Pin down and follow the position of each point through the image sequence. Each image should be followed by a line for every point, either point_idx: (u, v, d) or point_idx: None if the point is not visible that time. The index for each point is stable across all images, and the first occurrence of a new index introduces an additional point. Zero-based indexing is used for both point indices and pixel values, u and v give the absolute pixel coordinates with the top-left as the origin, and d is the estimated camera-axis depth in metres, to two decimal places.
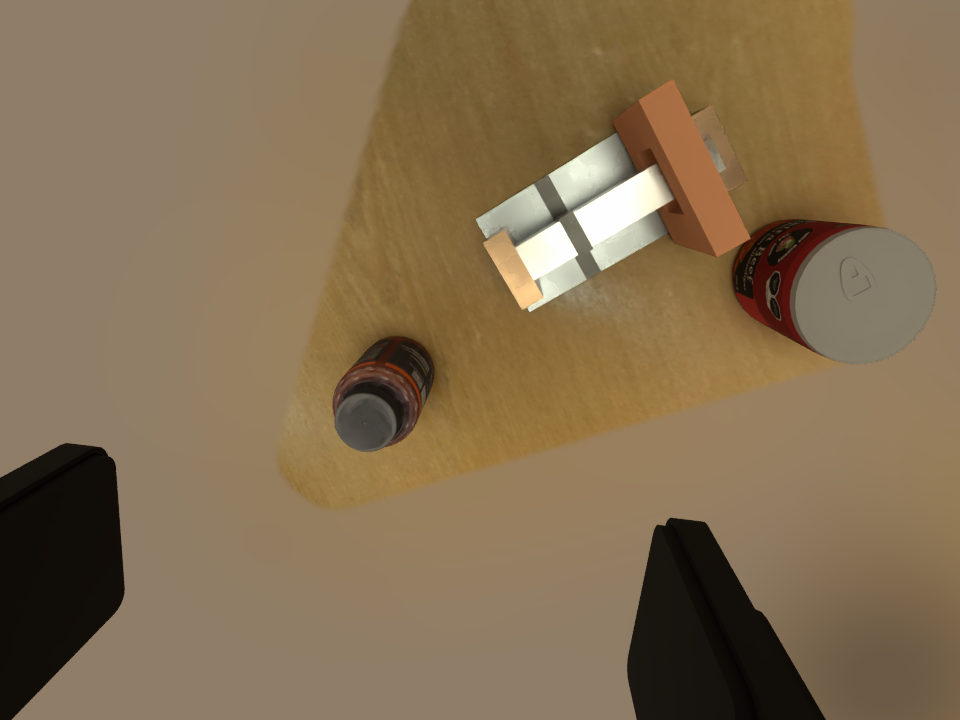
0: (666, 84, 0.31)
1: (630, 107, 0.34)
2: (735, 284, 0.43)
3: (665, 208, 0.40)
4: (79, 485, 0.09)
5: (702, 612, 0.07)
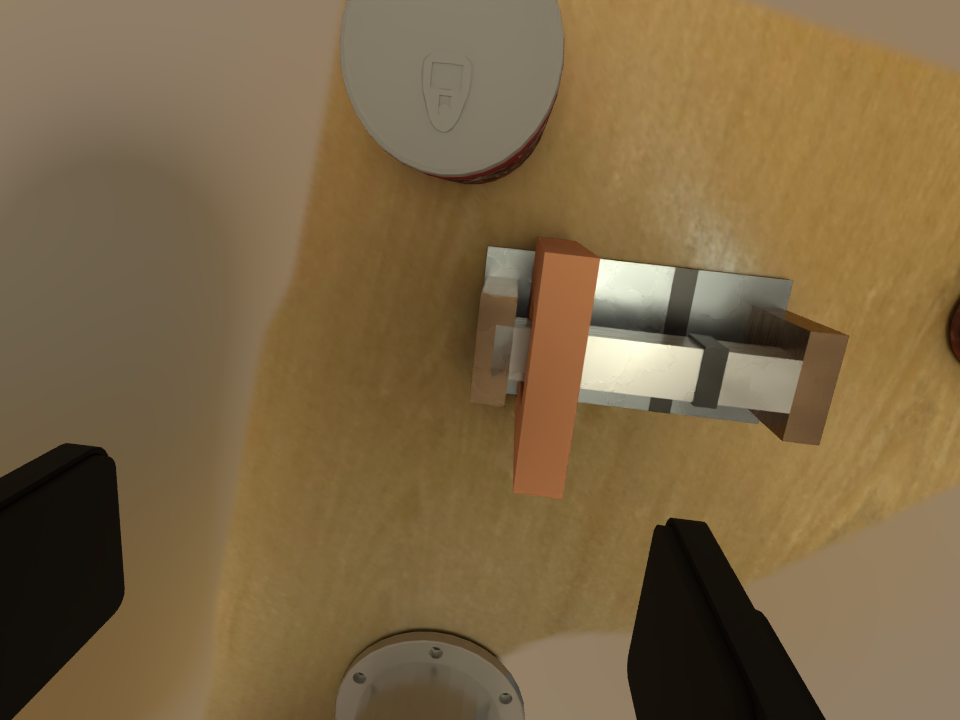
0: (523, 492, 0.24)
1: None
2: None
3: None
4: (79, 485, 0.09)
5: (702, 612, 0.07)
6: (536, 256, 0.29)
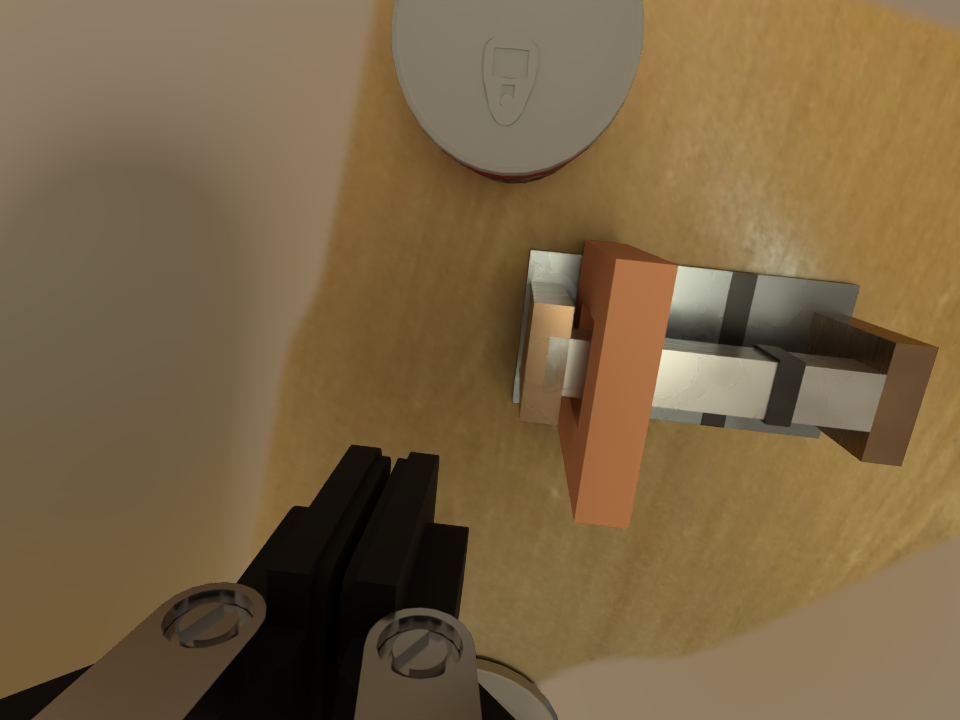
0: (585, 521, 0.22)
1: None
2: None
3: None
4: (380, 482, 0.10)
5: (377, 516, 0.09)
6: (587, 261, 0.27)
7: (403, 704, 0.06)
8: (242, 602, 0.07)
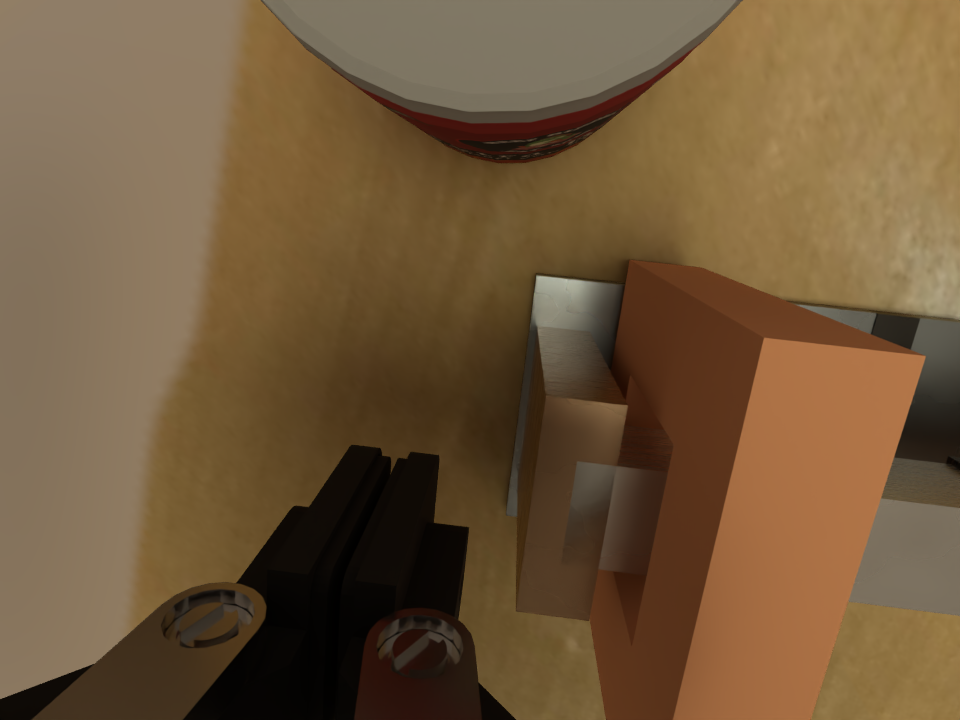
0: None
1: None
2: None
3: None
4: (380, 482, 0.10)
5: (377, 516, 0.09)
6: (639, 301, 0.15)
7: (403, 704, 0.06)
8: (242, 602, 0.07)
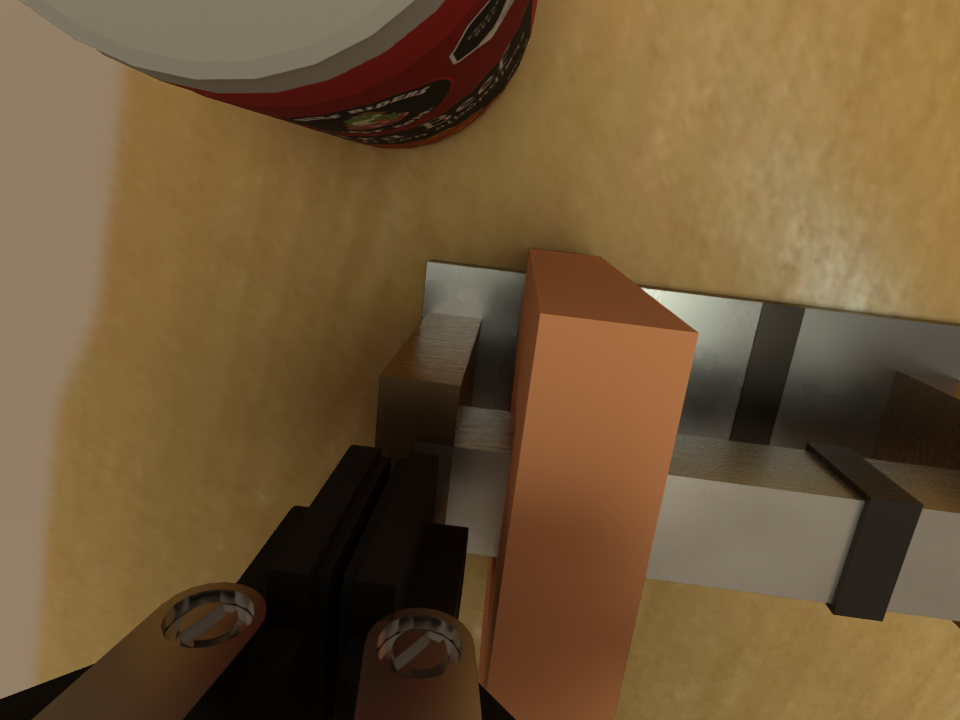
0: None
1: None
2: (521, 56, 0.16)
3: None
4: (380, 482, 0.10)
5: (377, 516, 0.09)
6: (526, 288, 0.15)
7: (403, 704, 0.06)
8: (242, 602, 0.07)
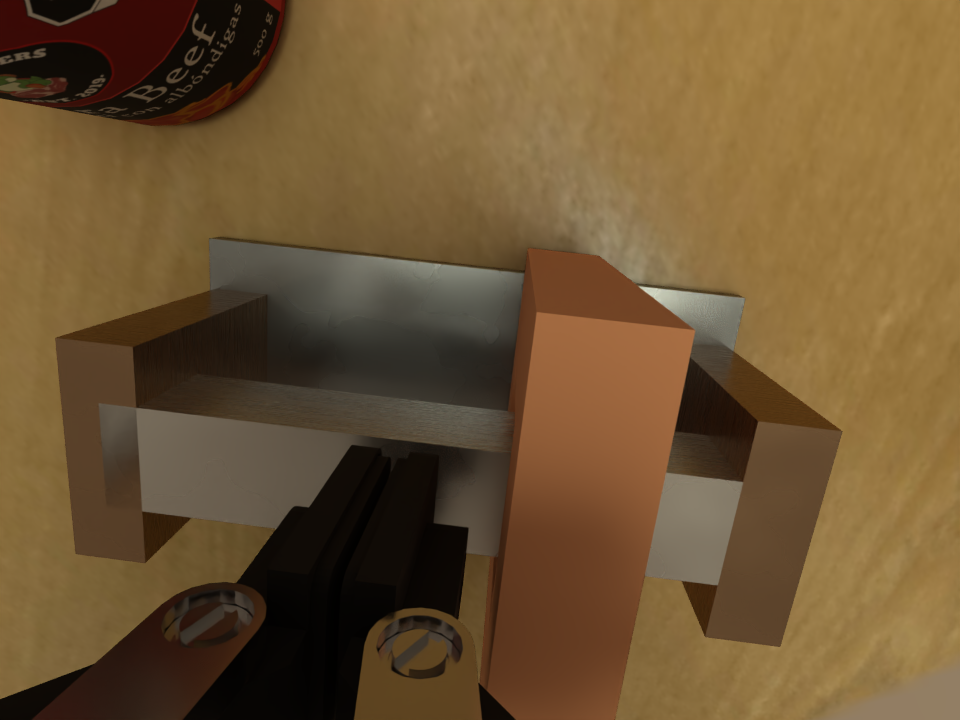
0: None
1: None
2: (270, 31, 0.16)
3: None
4: (380, 482, 0.10)
5: (377, 516, 0.09)
6: (524, 288, 0.15)
7: (403, 705, 0.06)
8: (242, 602, 0.07)
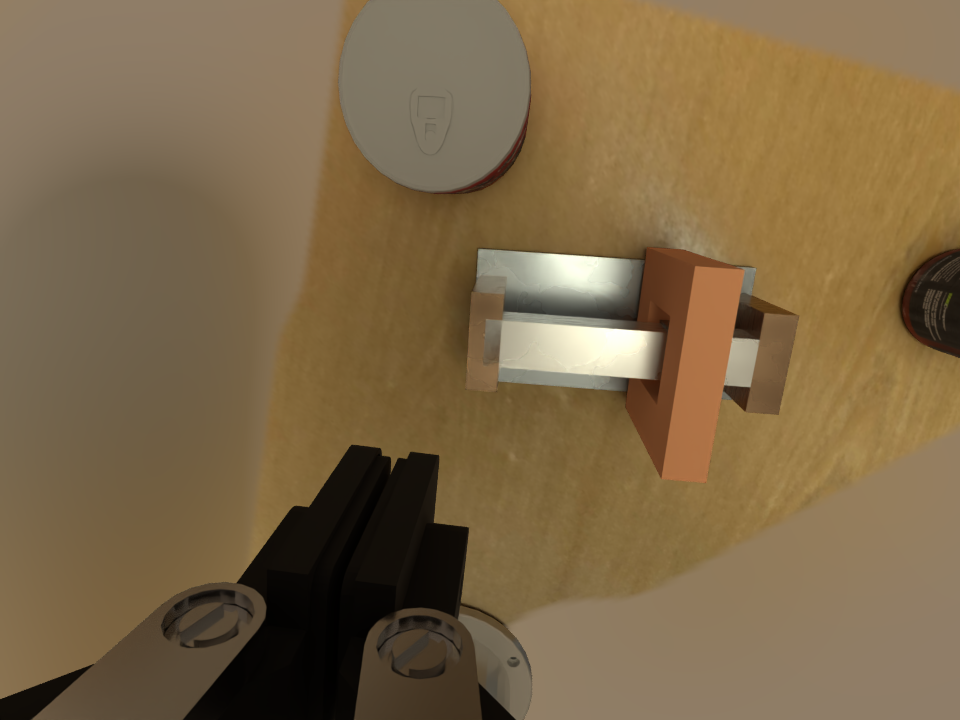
0: (670, 478, 0.27)
1: None
2: None
3: None
4: (380, 482, 0.10)
5: (377, 516, 0.09)
6: (653, 265, 0.32)
7: (403, 704, 0.06)
8: (242, 602, 0.07)
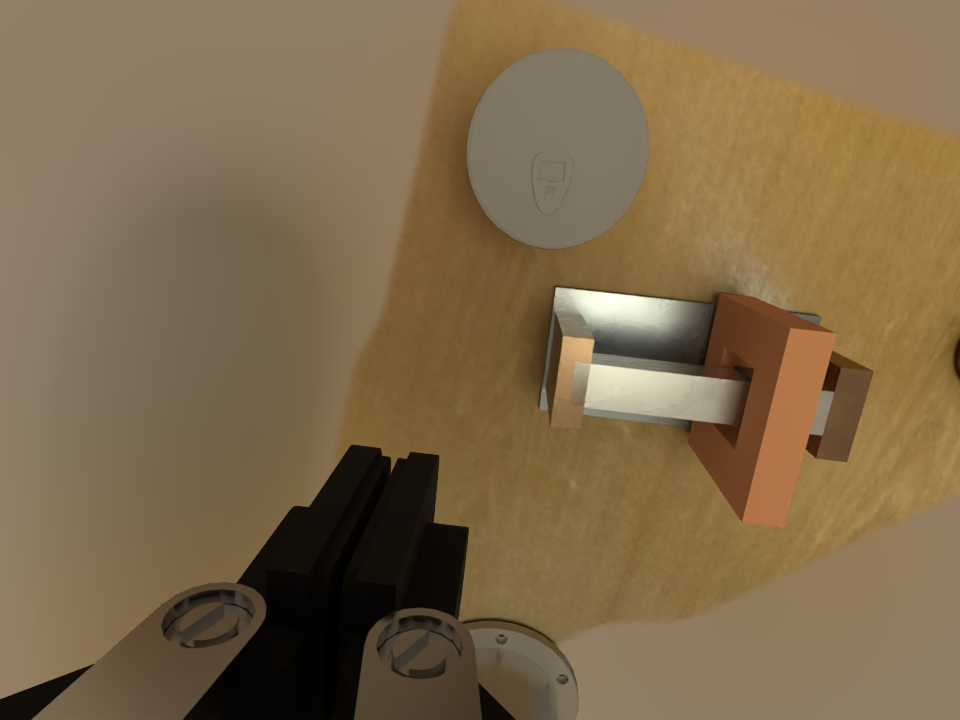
0: (751, 522, 0.29)
1: None
2: None
3: None
4: (380, 482, 0.10)
5: (377, 516, 0.09)
6: (729, 313, 0.33)
7: (403, 704, 0.06)
8: (242, 602, 0.07)
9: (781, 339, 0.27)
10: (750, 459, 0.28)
